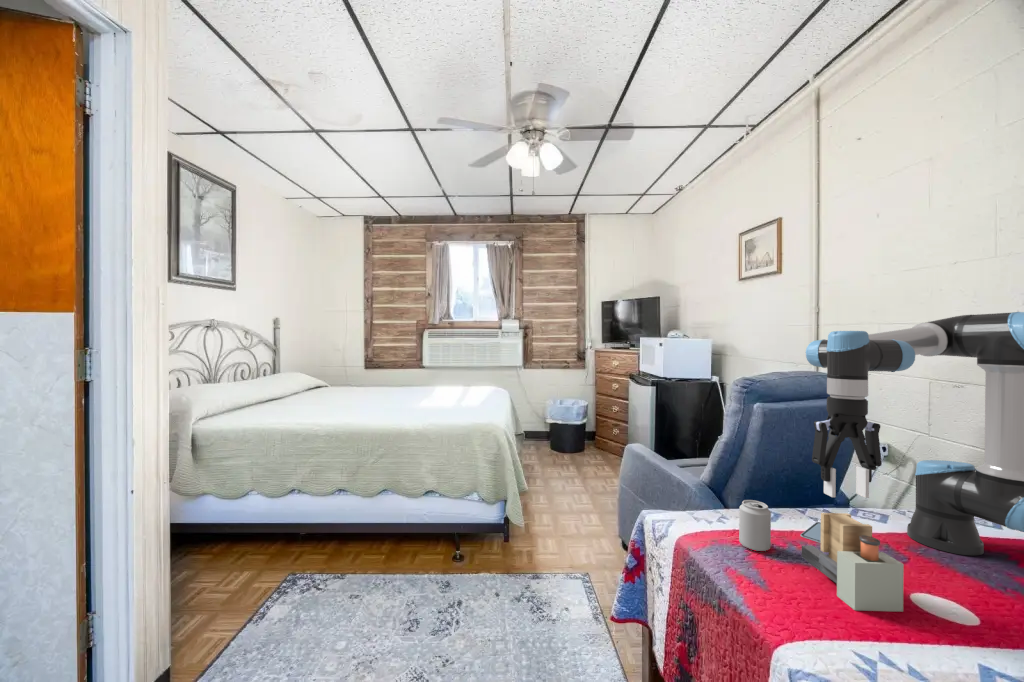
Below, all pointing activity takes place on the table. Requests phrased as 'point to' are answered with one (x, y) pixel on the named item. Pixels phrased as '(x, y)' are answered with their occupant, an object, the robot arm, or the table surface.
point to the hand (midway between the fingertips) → (845, 495)
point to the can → (755, 525)
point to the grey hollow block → (870, 582)
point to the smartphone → (813, 532)
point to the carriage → (839, 539)
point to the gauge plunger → (869, 548)
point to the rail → (812, 556)
